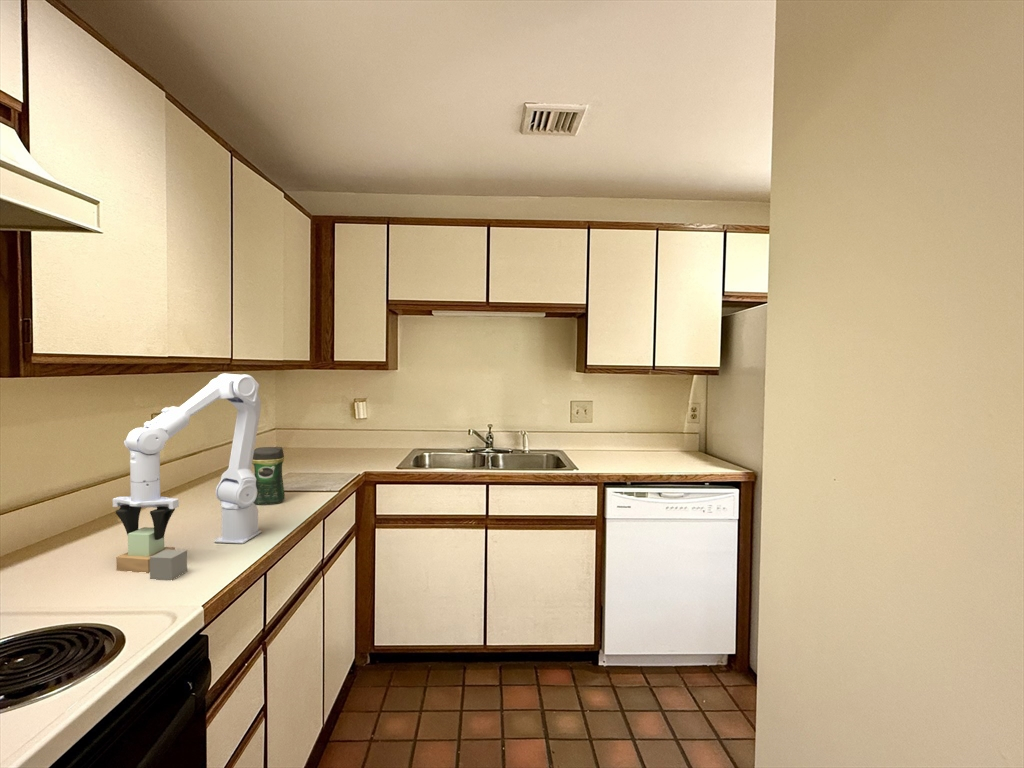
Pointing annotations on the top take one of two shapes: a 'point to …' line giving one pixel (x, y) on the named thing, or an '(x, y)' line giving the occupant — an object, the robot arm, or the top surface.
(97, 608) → the top surface
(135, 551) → the sage cube
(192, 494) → the top surface
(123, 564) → the walnut base
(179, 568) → the charcoal cube
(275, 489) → the coffee jar
